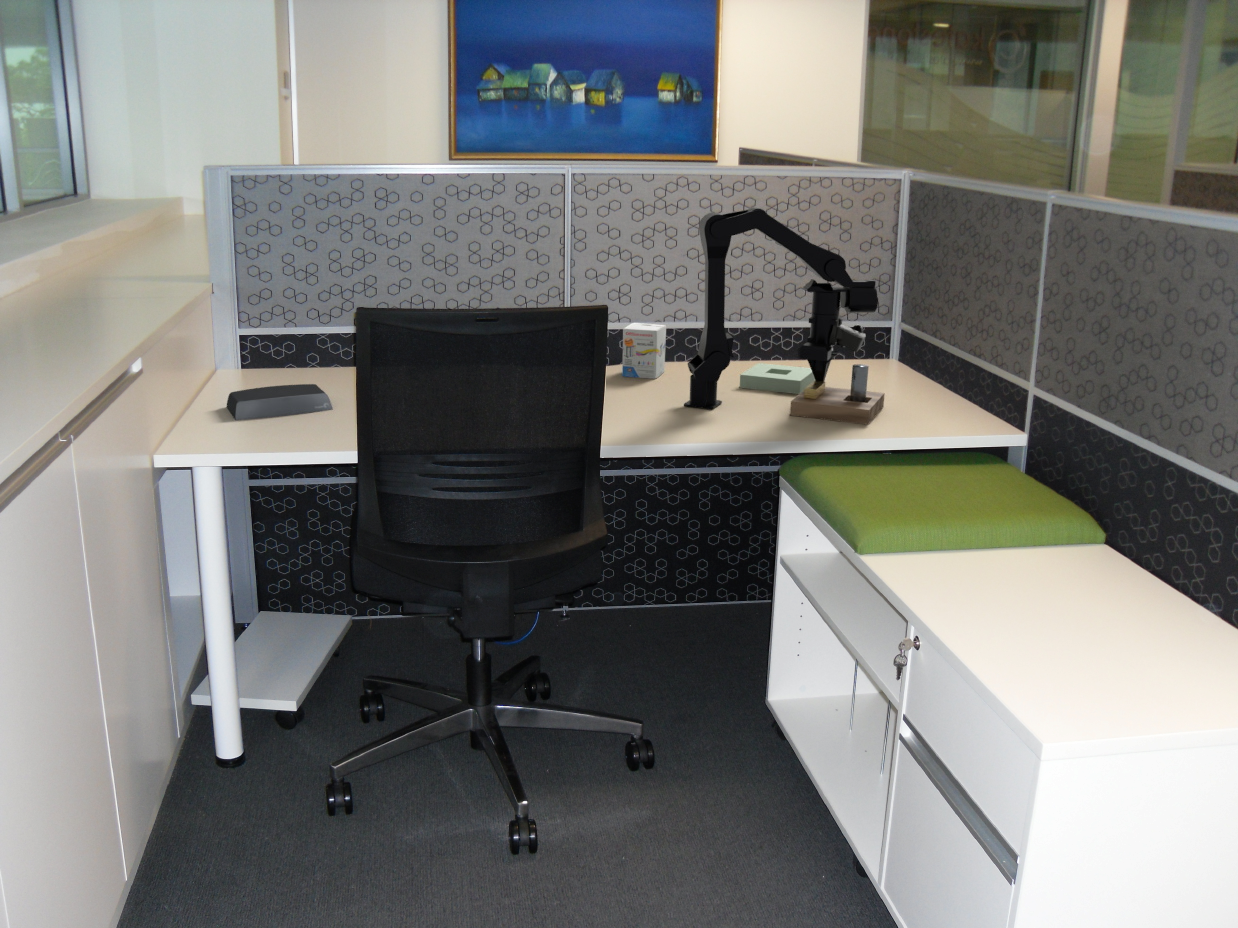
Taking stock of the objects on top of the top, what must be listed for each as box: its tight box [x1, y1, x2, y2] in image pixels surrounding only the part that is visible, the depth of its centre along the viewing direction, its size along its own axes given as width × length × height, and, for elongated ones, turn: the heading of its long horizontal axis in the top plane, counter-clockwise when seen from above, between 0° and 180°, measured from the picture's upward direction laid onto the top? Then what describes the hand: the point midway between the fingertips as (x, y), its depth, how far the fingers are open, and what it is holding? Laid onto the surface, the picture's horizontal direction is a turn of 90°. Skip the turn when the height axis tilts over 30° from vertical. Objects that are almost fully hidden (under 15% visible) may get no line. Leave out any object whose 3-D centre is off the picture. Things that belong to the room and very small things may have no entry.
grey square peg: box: [850, 363, 870, 403], centre depth 219 cm, size 3×3×10 cm
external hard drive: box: [226, 383, 334, 421], centre depth 219 cm, size 13×19×4 cm
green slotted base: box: [739, 362, 815, 395], centre depth 244 cm, size 14×14×3 cm
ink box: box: [621, 322, 667, 380], centre depth 252 cm, size 9×8×12 cm
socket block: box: [789, 386, 886, 425], centre depth 221 cm, size 16×16×3 cm
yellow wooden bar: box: [804, 381, 826, 399], centre depth 222 cm, size 8×2×2 cm, turn 156°
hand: (820, 385), depth 227 cm, fingers closed
